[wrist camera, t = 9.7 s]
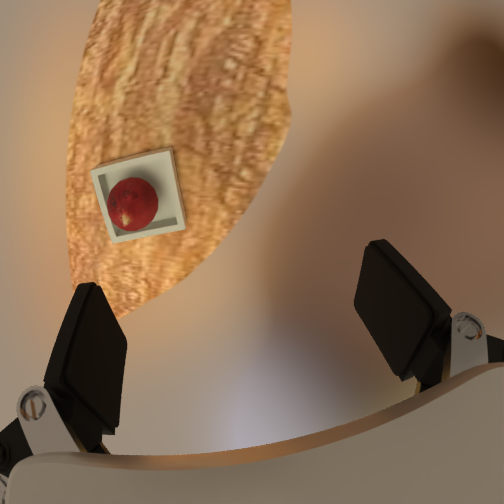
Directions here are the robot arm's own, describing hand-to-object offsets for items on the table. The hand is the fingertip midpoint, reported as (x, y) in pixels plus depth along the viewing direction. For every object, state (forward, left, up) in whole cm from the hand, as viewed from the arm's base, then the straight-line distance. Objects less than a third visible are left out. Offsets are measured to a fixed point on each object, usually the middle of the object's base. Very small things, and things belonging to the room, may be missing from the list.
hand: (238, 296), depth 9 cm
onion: (+3, -9, -26) cm, 27 cm away
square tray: (+4, -9, -26) cm, 28 cm away
